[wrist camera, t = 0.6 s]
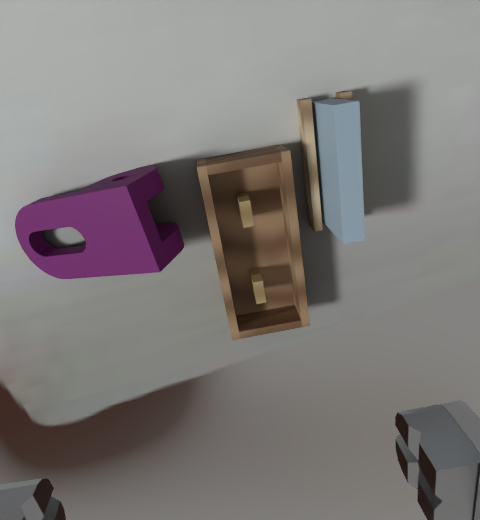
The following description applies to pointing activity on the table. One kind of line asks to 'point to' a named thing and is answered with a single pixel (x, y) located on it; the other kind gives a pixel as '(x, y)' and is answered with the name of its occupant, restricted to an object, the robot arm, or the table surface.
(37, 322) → the table surface
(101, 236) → the mounting bracket
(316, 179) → the door stand
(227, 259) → the box
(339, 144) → the door
